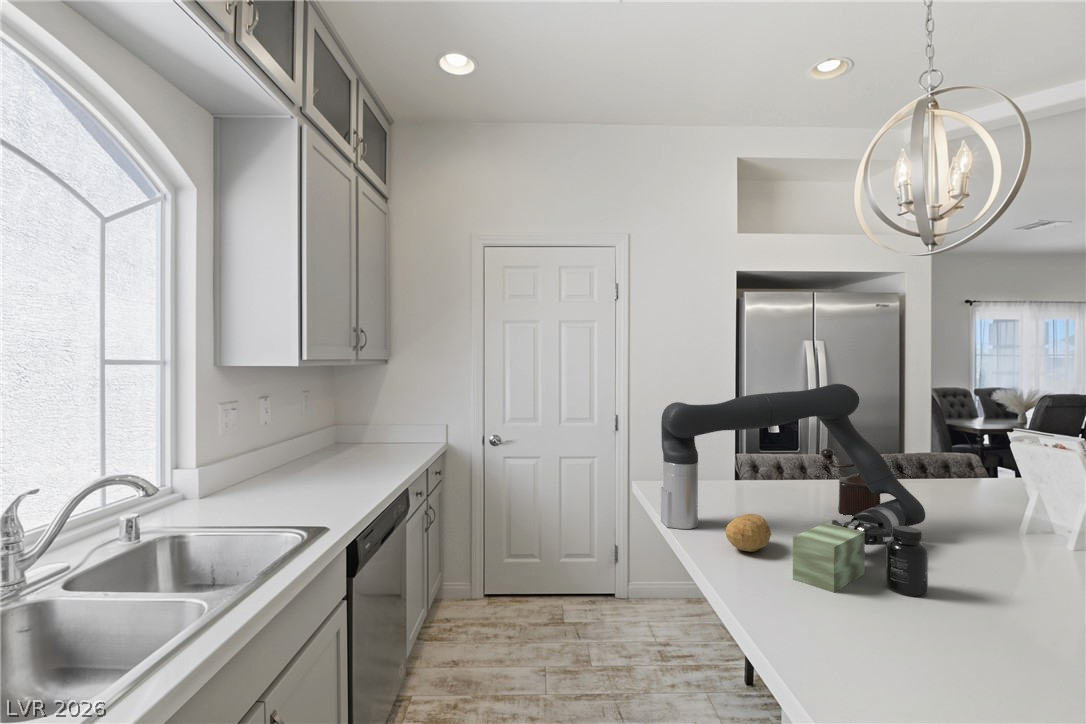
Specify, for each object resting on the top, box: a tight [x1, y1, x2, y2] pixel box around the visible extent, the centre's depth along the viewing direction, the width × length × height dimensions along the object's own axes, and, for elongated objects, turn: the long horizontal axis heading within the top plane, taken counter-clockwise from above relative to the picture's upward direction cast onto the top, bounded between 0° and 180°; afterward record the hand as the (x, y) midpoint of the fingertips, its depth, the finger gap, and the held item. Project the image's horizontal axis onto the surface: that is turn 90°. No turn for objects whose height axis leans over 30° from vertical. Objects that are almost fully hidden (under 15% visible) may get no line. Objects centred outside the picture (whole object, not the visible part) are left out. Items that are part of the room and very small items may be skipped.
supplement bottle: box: [885, 526, 929, 597], centre depth 106 cm, size 7×7×12 cm
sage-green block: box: [792, 522, 866, 593], centre depth 112 cm, size 15×8×9 cm, turn 129°
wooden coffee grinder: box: [819, 447, 881, 517], centre depth 162 cm, size 16×11×18 cm
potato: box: [725, 513, 772, 553], centre depth 129 cm, size 10×14×8 cm
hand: (844, 539), depth 117 cm, fingers closed
